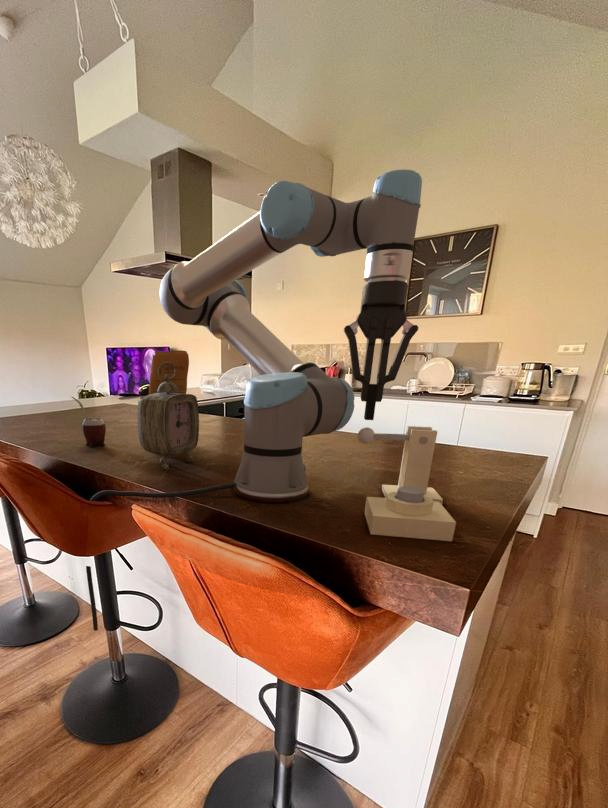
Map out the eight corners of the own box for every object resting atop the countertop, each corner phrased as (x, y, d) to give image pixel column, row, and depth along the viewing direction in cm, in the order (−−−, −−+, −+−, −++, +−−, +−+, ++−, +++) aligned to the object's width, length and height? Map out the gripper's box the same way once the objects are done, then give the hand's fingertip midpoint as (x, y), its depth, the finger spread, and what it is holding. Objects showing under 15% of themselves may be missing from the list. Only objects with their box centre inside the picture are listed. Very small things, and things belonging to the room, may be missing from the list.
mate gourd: (111, 443, 134) (106, 395, 129) (98, 448, 127) (93, 397, 122) (89, 442, 136) (85, 394, 131) (76, 447, 129) (70, 396, 123)
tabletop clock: (166, 473, 101) (162, 362, 92) (137, 468, 105) (130, 362, 96) (199, 461, 113) (198, 362, 104) (172, 457, 117) (168, 361, 108)
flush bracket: (387, 501, 82) (397, 430, 78) (381, 489, 90) (391, 424, 85) (442, 505, 80) (456, 433, 76) (431, 493, 88) (444, 426, 83)
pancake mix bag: (197, 443, 135) (196, 350, 126) (158, 454, 120) (153, 349, 110) (180, 441, 139) (178, 350, 129) (140, 451, 124) (134, 349, 114)
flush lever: (357, 444, 82) (359, 428, 81) (356, 441, 85) (358, 425, 84) (428, 448, 80) (431, 431, 79) (424, 445, 83) (427, 428, 82)
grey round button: (398, 503, 67) (400, 492, 67) (394, 495, 71) (395, 485, 70) (425, 505, 66) (427, 494, 66) (419, 497, 70) (421, 487, 70)
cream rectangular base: (370, 534, 67) (374, 504, 65) (364, 513, 76) (367, 486, 74) (452, 541, 64) (458, 511, 63) (435, 518, 74) (441, 491, 72)
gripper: (348, 279, 71) (334, 420, 80) (430, 277, 69) (407, 423, 77) (346, 286, 78) (333, 415, 86) (420, 284, 76) (400, 417, 84)
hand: (368, 419), depth 82 cm, fingers closed
